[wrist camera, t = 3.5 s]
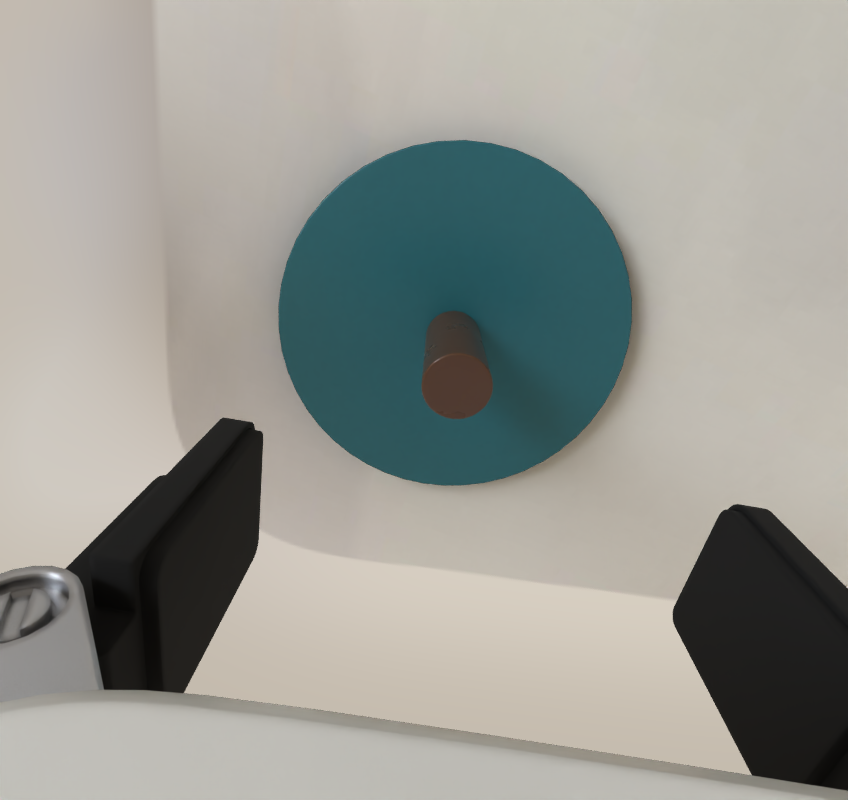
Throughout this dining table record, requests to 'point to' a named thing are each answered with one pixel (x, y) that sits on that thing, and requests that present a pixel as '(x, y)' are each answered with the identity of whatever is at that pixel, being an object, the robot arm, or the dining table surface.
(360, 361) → the lid
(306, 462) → the dining table surface
